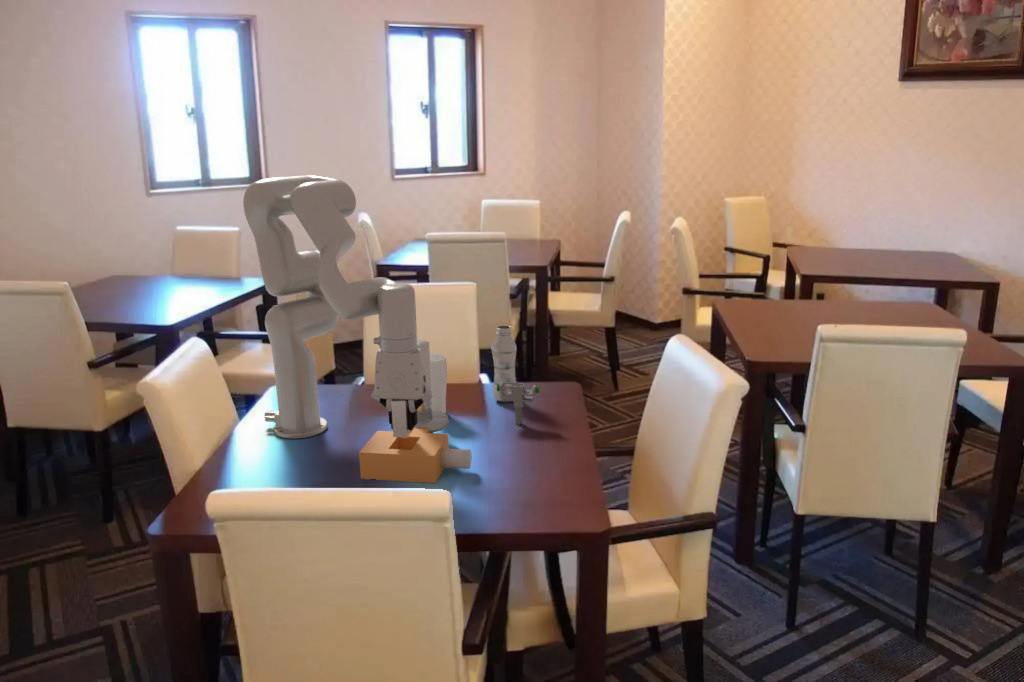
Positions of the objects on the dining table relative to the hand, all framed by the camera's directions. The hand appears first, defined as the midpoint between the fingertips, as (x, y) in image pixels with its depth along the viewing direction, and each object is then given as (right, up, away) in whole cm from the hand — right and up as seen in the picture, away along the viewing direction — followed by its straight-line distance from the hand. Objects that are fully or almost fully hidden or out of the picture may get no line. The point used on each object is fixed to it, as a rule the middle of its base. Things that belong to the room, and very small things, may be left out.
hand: (403, 426), depth 170 cm
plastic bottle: (+21, +2, +43) cm, 48 cm away
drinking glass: (+3, -1, +34) cm, 34 cm away
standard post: (+2, -6, +16) cm, 17 cm away
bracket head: (+3, -9, +4) cm, 10 cm away
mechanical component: (+25, -2, +27) cm, 37 cm away
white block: (0, -1, 0) cm, 1 cm away
